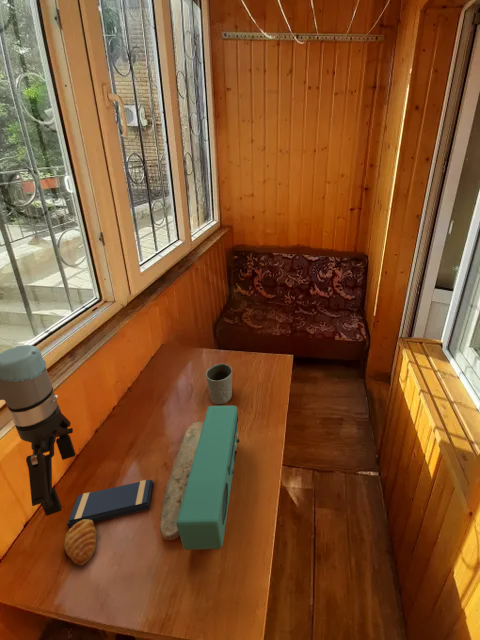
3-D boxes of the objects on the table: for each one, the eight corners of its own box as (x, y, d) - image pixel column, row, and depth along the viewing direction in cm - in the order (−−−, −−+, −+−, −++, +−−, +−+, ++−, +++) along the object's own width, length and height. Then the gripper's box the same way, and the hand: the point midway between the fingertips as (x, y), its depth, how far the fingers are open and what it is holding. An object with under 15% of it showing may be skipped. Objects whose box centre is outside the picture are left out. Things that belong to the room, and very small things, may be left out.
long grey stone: (213, 427, 112) (185, 430, 112) (211, 416, 111) (183, 419, 110) (192, 540, 79) (152, 545, 79) (188, 526, 78) (148, 531, 77)
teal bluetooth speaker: (225, 562, 75) (221, 522, 70) (182, 564, 75) (174, 523, 70) (241, 438, 107) (239, 404, 102) (211, 438, 107) (207, 404, 102)
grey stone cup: (207, 406, 120) (204, 382, 116) (209, 387, 129) (207, 364, 125) (233, 404, 121) (231, 379, 117) (234, 385, 131) (232, 362, 127)
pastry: (103, 551, 78) (100, 541, 76) (72, 576, 73) (67, 566, 72) (92, 520, 84) (89, 511, 83) (63, 541, 79) (59, 532, 78)
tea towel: (68, 528, 82) (66, 522, 81) (79, 500, 89) (76, 494, 88) (149, 509, 87) (147, 503, 86) (153, 484, 93) (152, 477, 92)
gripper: (39, 458, 57) (68, 532, 64) (71, 371, 78) (89, 433, 86) (-13, 474, 54) (23, 549, 61) (35, 379, 76) (57, 443, 83)
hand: (62, 482), depth 74 cm, fingers open, 13 cm apart
